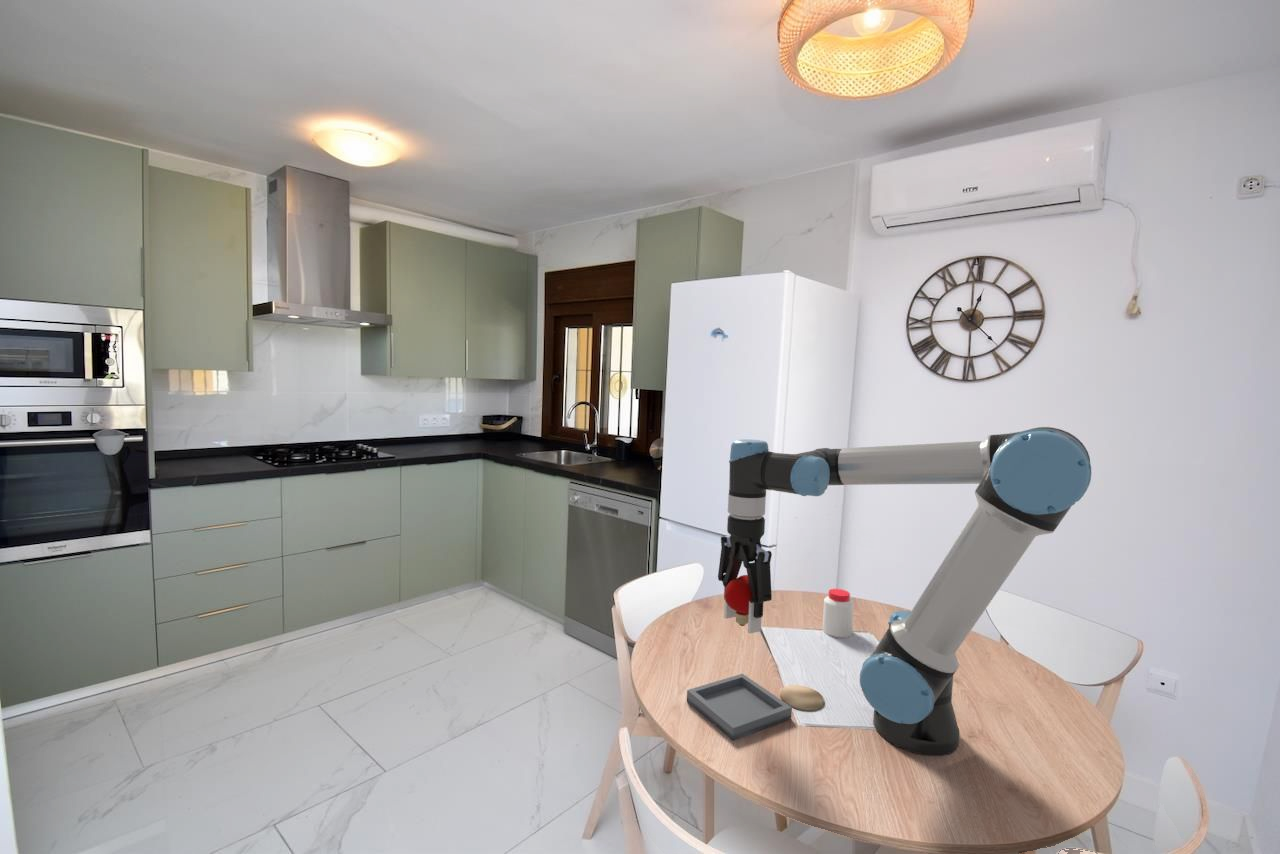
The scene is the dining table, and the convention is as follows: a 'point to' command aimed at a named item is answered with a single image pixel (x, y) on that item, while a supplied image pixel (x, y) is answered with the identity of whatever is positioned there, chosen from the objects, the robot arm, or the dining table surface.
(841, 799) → the dining table surface
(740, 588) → the red rounded piece
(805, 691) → the cork coaster
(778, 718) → the socket dish
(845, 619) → the pill bottle
